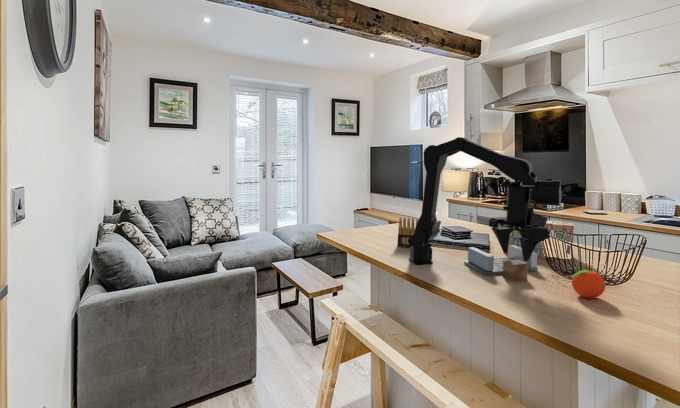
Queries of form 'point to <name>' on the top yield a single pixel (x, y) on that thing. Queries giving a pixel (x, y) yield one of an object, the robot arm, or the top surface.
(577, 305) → the top surface
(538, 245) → the stack of blocks
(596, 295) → the clementine
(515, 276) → the walnut block
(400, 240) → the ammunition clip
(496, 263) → the vise base
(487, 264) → the plate
